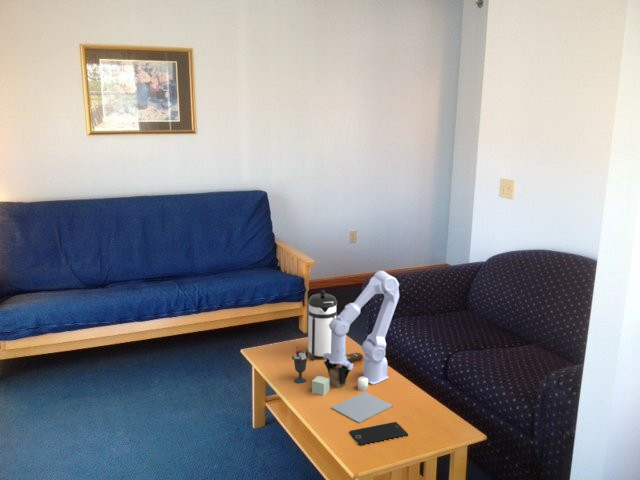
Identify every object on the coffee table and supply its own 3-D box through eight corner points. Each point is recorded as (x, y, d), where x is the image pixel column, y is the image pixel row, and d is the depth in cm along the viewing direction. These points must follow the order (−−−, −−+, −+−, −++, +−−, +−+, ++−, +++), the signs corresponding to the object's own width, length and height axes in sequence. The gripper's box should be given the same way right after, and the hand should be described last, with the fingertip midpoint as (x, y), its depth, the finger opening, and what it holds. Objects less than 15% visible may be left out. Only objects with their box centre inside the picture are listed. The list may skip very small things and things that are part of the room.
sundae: (289, 382, 233) (289, 347, 230) (296, 375, 239) (296, 341, 236) (304, 385, 231) (304, 350, 228) (311, 378, 237) (311, 343, 234)
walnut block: (337, 380, 236) (337, 365, 234) (345, 384, 233) (345, 369, 231) (329, 384, 233) (329, 368, 231) (337, 388, 230) (337, 372, 228)
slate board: (364, 392, 226) (364, 391, 226) (392, 406, 216) (392, 405, 216) (331, 408, 214) (331, 407, 214) (359, 423, 204) (359, 422, 204)
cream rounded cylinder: (362, 385, 232) (362, 375, 231) (369, 388, 229) (370, 379, 229) (355, 388, 230) (355, 378, 229) (362, 392, 227) (363, 382, 226)
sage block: (317, 387, 230) (318, 375, 229) (329, 390, 228) (329, 378, 227) (311, 392, 226) (312, 380, 224) (323, 395, 223) (323, 383, 222)
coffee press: (346, 354, 261) (348, 289, 255) (323, 365, 250) (324, 297, 243) (317, 343, 273) (318, 281, 266) (293, 353, 261) (294, 288, 254)
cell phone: (348, 433, 199) (348, 430, 198) (396, 423, 205) (396, 421, 205) (359, 447, 191) (360, 444, 190) (408, 437, 197) (408, 434, 197)
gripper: (318, 345, 232) (317, 377, 235) (344, 356, 221) (343, 390, 224) (331, 340, 236) (330, 372, 239) (357, 352, 226) (356, 384, 229)
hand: (337, 380), depth 232 cm, fingers open, 5 cm apart
